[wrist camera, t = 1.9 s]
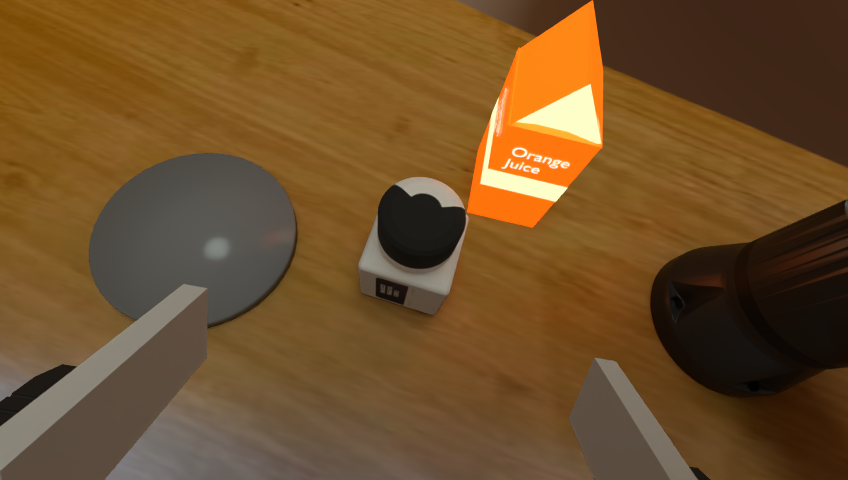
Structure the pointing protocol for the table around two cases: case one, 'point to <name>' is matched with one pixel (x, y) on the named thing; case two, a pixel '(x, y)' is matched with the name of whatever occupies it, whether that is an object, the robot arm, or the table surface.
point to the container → (414, 245)
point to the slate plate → (194, 236)
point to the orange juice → (542, 123)
